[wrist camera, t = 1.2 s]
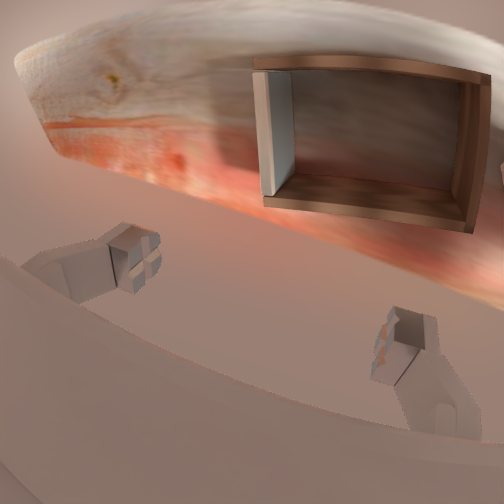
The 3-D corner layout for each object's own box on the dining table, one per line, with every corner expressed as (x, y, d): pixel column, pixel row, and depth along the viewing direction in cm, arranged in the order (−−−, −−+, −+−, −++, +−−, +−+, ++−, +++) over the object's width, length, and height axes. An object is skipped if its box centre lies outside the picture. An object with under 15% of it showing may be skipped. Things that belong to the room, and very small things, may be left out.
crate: (468, 75, 22) (491, 75, 16) (457, 201, 29) (472, 233, 23) (281, 62, 30) (252, 58, 23) (288, 181, 37) (263, 206, 31)
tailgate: (291, 73, 30) (264, 71, 23) (295, 171, 35) (272, 195, 29) (281, 73, 30) (252, 72, 24) (286, 171, 36) (261, 194, 30)
